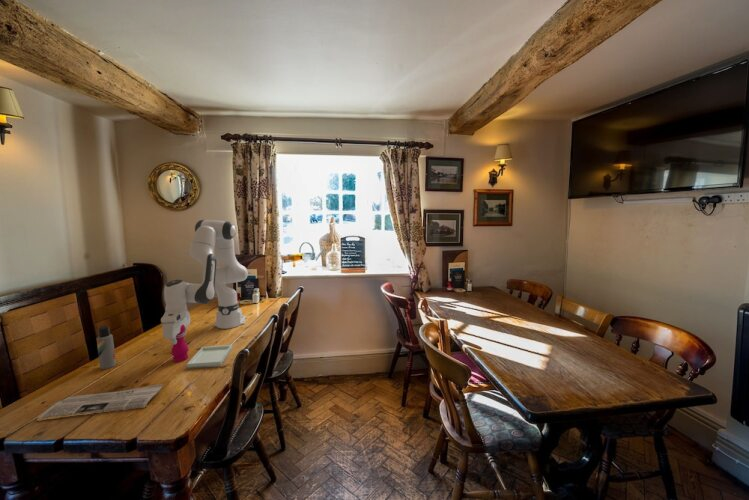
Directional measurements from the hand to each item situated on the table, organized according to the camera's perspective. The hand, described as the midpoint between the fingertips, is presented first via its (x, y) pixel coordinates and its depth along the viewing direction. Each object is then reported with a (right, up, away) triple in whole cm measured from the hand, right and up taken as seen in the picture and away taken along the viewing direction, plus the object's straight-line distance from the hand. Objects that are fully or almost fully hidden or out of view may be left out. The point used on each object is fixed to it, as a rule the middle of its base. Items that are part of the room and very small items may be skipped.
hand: (179, 339), depth 146 cm
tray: (+15, -10, +2) cm, 18 cm away
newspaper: (-6, -15, -33) cm, 37 cm away
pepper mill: (0, -10, +2) cm, 11 cm away
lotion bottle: (-31, -11, -6) cm, 33 cm away
